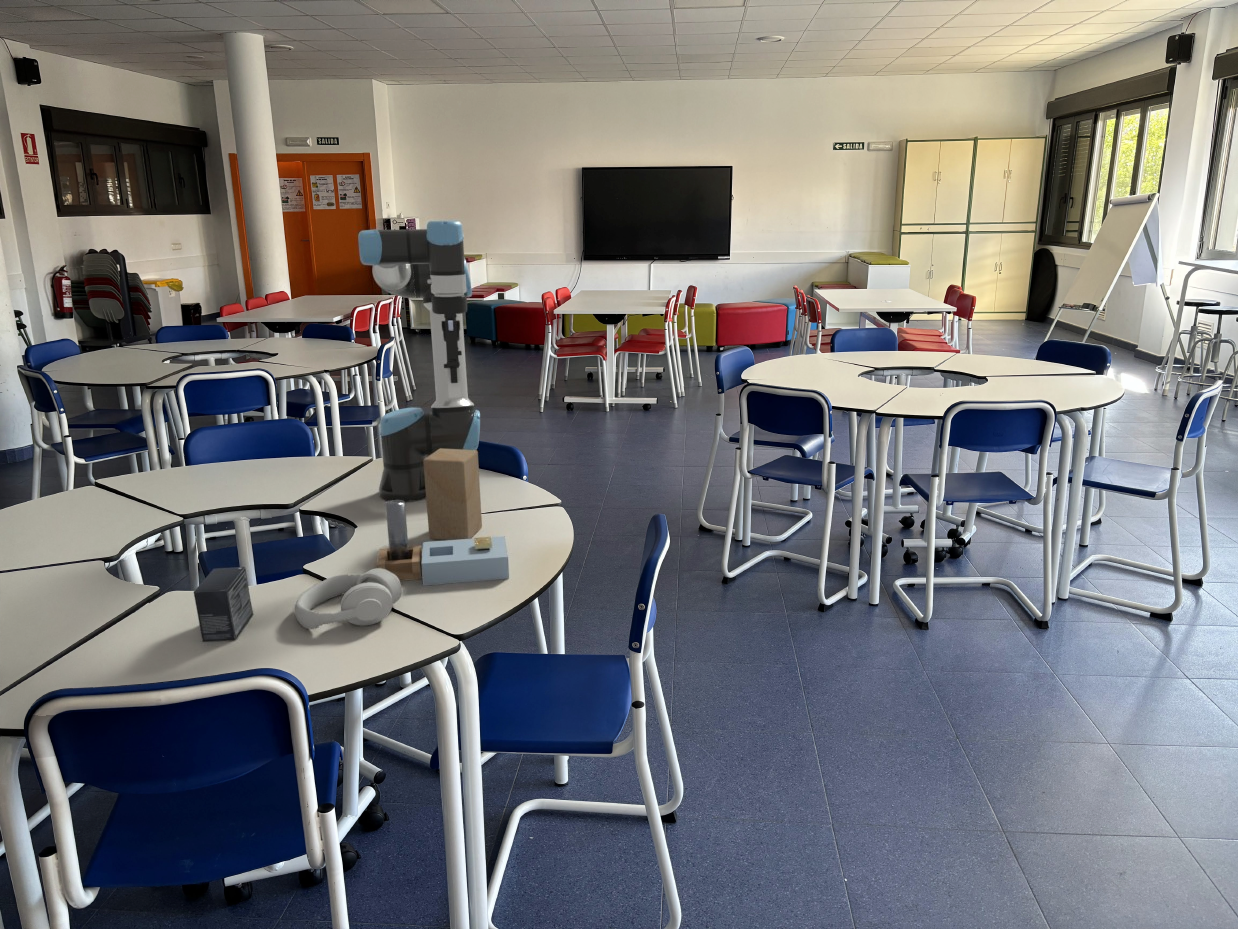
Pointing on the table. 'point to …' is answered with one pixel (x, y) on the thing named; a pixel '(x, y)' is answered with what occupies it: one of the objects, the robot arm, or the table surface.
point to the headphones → (351, 599)
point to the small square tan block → (483, 543)
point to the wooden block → (453, 494)
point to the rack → (402, 564)
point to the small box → (223, 604)
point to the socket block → (463, 561)
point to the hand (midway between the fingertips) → (455, 390)
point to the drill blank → (397, 530)
